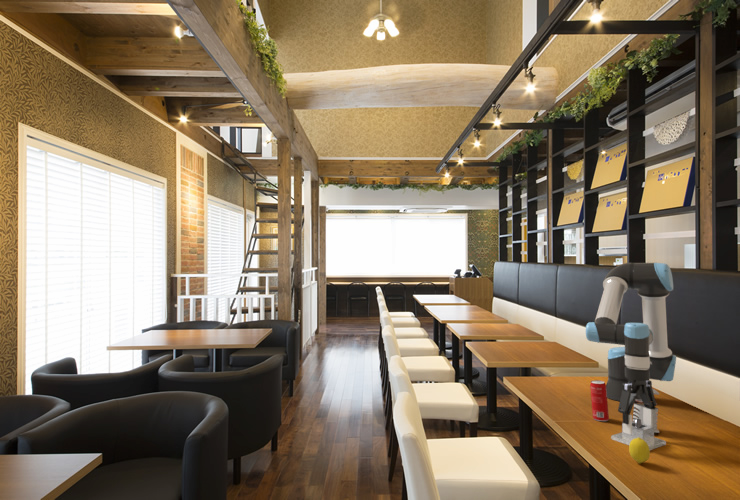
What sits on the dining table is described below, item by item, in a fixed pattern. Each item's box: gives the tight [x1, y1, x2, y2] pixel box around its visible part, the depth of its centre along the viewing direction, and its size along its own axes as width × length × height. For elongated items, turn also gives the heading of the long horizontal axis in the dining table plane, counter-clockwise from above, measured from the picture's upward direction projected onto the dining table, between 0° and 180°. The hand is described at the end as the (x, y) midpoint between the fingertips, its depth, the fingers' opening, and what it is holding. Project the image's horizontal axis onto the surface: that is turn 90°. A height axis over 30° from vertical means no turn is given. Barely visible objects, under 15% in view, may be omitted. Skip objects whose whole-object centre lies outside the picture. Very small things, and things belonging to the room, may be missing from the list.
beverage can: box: [589, 379, 610, 422], centre depth 177 cm, size 6×6×15 cm
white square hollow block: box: [621, 420, 655, 443], centre depth 154 cm, size 7×7×4 cm
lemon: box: [628, 437, 651, 464], centre depth 137 cm, size 6×6×8 cm
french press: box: [632, 361, 660, 434], centre depth 165 cm, size 10×12×25 cm
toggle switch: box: [610, 419, 667, 451], centre depth 154 cm, size 12×12×8 cm
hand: (637, 430), depth 154 cm, fingers open, 12 cm apart
